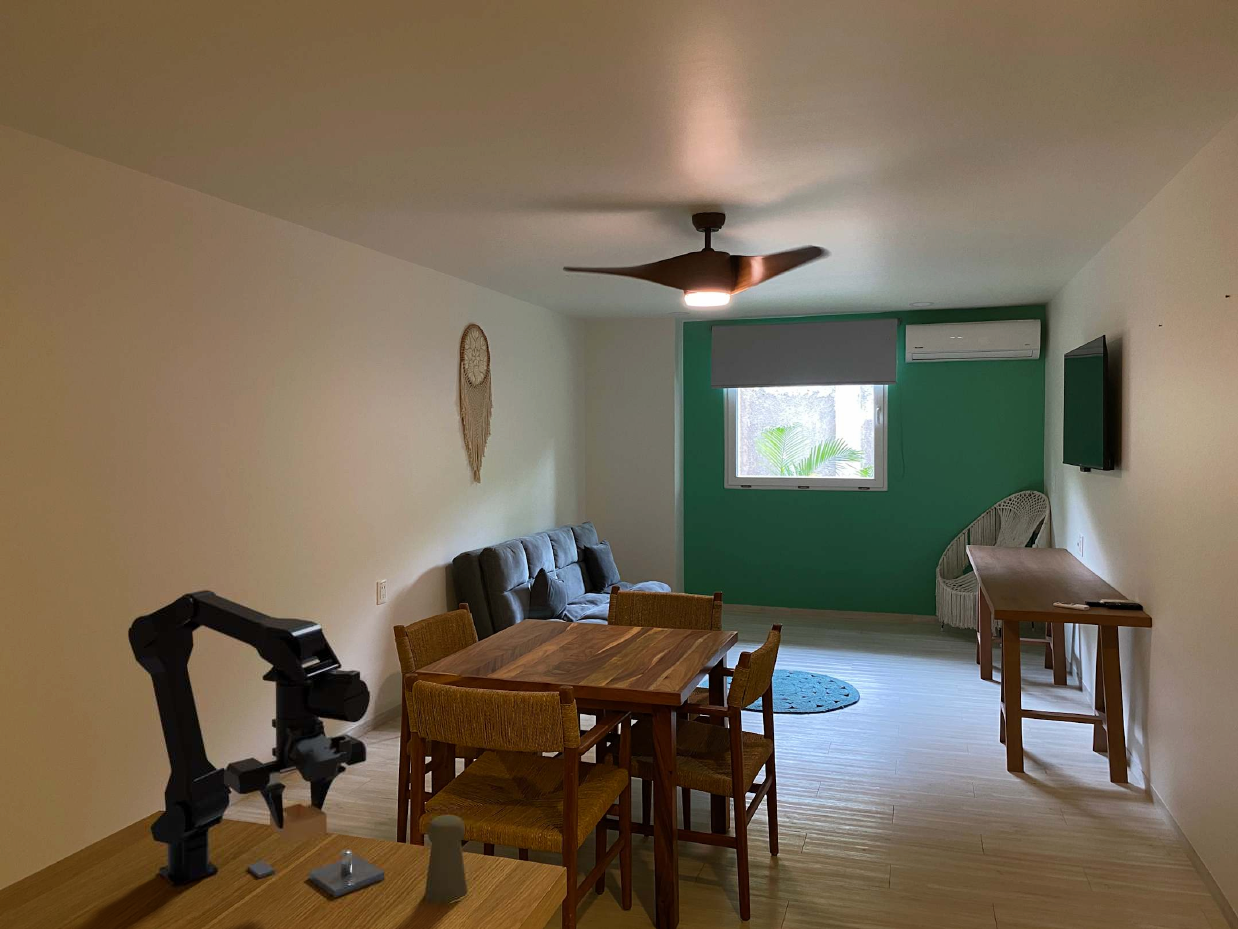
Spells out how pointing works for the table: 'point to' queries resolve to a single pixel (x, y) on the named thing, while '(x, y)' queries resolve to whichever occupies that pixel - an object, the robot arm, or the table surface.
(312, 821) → the link
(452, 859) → the olive game pawn
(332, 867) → the plate
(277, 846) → the table surface
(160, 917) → the table surface
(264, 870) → the grey rectangular block
